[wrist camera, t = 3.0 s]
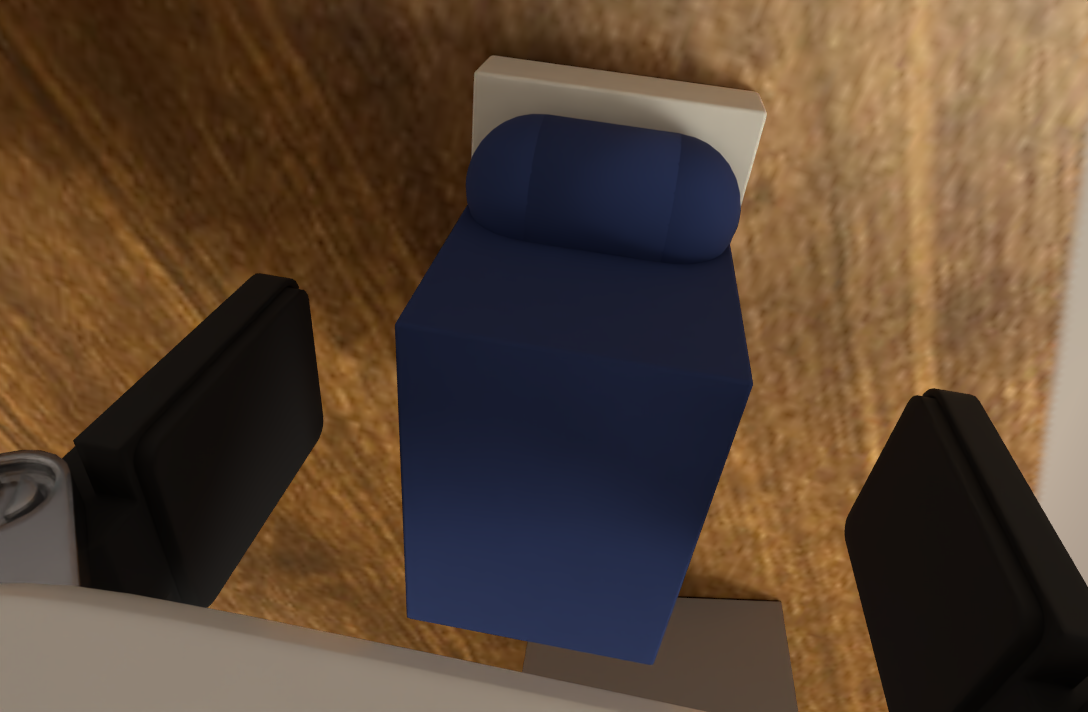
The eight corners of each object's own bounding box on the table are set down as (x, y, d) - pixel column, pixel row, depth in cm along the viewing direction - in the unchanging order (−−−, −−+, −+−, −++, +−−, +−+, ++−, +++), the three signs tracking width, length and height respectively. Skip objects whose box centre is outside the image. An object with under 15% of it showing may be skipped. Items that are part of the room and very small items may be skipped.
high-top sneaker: (662, 446, 16) (660, 675, 11) (473, 413, 16) (397, 624, 12) (759, 91, 11) (821, 241, 7) (490, 54, 11) (371, 172, 7)
